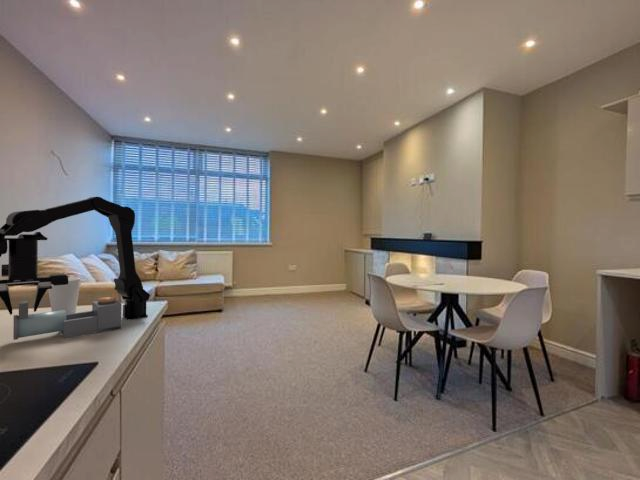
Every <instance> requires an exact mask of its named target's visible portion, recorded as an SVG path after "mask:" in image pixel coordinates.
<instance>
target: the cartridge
mask: <svg viewBox="0 0 640 480" xmlns="http://www.w3.org/2000/svg"><path fill="white" fill-rule="evenodd" d="M65 320H66V311H65V310H60V311H52V310H51V311H45V312H37V313H30V314H29V300H19V301H18V314H14V315H13V340H14V341H15V340H19V339H21V338H26V337H27V338H28V337H31V336H32V337H34V336H40V335H45V334H51V333H57V332H60V331H63V321H65Z"/></svg>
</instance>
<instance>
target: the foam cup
mask: <svg viewBox="0 0 640 480" xmlns="http://www.w3.org/2000/svg"><path fill="white" fill-rule="evenodd" d="M81 284H82V278H81V277H73V276H72V277H69V276H68V284H67V285H55V286H54V285H53V284H51V286H52V289H47V291H48V297H49V303H50V310H51V312H52V311H60V310H65V311H66V314H71V313H77V312H76V311H77V305H78V301H79V294H80V286H82V285H81Z"/></svg>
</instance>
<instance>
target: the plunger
mask: <svg viewBox="0 0 640 480" xmlns="http://www.w3.org/2000/svg"><path fill="white" fill-rule="evenodd" d="M115 300H116V297H114V296H107V297H106V296H105V297H100V298H97V301H98V304H99V305H103V304H111V303H115Z"/></svg>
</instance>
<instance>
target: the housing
mask: <svg viewBox="0 0 640 480" xmlns="http://www.w3.org/2000/svg"><path fill="white" fill-rule="evenodd" d="M91 307H92V309H91V310H86V311H80V312H75V313H71V314H66V320H65V321H63V331H59V333H60V334H61V336H62V338H63V340H68V339H73V338H78V337H84V336H91V335H95V334H101V333H106V332H113V331H117V330H121V329H122V303H121V302H119V301H118V300H117V299H115V303H111V304H103V305H99V304H98V300H93V301H92V303H91Z"/></svg>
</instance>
